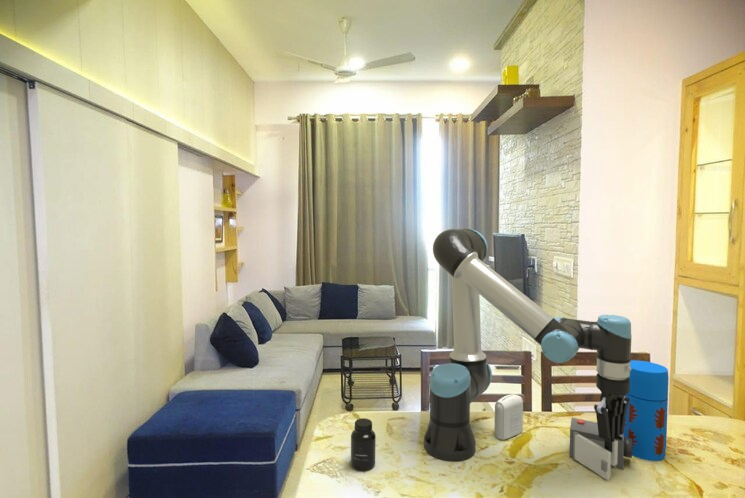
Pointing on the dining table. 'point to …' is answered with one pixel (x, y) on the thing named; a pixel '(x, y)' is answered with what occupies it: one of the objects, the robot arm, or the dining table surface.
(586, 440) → the side door
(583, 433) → the camera body
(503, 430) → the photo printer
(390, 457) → the dining table surface
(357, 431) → the supplement bottle
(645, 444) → the thermos
